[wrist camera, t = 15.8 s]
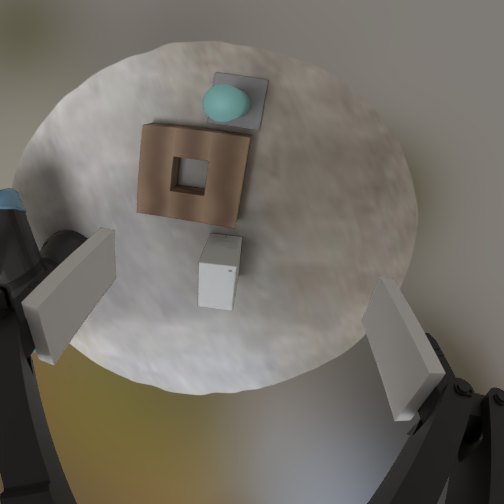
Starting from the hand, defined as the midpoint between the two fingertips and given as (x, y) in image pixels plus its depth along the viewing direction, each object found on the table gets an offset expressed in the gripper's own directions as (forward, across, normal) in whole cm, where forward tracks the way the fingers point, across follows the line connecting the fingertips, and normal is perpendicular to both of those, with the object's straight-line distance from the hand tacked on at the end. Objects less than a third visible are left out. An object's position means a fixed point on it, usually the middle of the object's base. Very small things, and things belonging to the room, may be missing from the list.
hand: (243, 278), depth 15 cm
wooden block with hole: (+37, -10, -4) cm, 38 cm away
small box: (+37, -3, -18) cm, 41 cm away
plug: (+36, -5, +8) cm, 37 cm away
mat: (+37, -5, +8) cm, 38 cm away
